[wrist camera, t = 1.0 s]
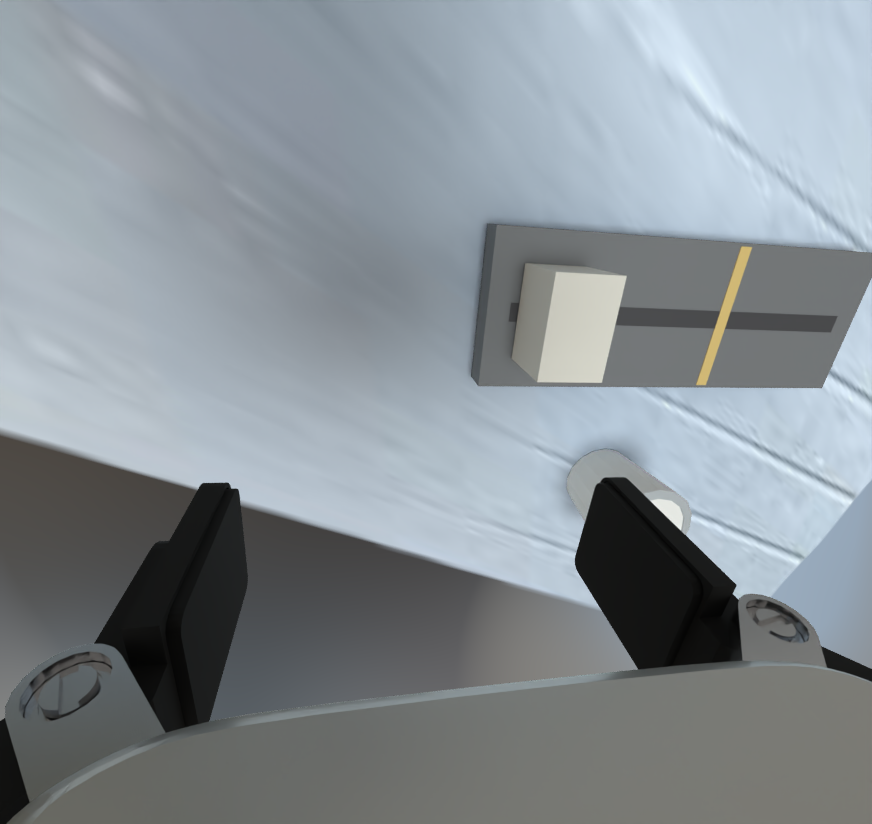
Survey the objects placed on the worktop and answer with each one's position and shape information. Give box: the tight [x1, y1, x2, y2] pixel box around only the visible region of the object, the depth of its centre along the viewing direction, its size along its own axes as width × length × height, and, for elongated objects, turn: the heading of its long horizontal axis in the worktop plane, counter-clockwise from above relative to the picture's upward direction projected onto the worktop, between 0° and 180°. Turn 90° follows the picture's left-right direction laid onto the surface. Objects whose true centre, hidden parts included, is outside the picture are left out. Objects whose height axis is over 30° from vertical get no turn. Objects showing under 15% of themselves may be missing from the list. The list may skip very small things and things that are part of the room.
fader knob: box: [512, 263, 627, 383], centre depth 26 cm, size 4×6×4 cm, turn 176°
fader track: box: [471, 224, 872, 388], centre depth 31 cm, size 28×10×2 cm, turn 86°
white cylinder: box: [567, 449, 692, 535], centre depth 34 cm, size 7×7×7 cm
